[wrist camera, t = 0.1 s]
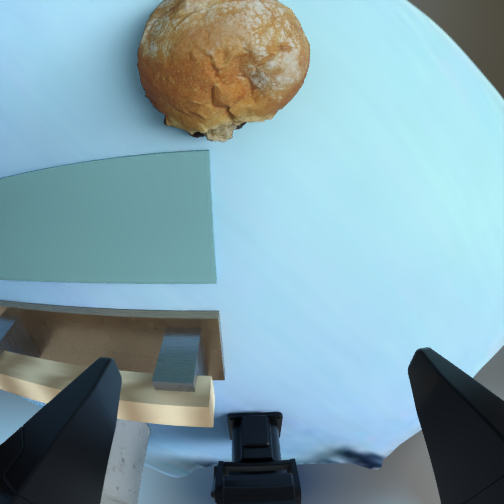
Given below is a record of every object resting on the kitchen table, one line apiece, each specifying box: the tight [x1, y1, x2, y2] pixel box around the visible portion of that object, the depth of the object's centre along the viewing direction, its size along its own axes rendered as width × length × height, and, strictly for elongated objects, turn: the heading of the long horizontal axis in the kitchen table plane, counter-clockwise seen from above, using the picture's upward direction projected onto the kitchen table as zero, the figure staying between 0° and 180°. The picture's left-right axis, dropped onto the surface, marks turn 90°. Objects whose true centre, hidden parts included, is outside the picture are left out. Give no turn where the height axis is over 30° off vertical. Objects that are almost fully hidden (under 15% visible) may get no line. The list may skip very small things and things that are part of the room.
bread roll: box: [137, 0, 310, 142], centre depth 14 cm, size 10×10×8 cm
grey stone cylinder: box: [101, 419, 150, 504], centre depth 29 cm, size 10×10×12 cm
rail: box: [0, 350, 215, 427], centre depth 21 cm, size 25×3×3 cm, turn 90°
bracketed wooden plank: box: [0, 300, 225, 392], centre depth 23 cm, size 26×8×7 cm, turn 90°
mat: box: [0, 150, 217, 284], centre depth 21 cm, size 10×26×1 cm, turn 90°
